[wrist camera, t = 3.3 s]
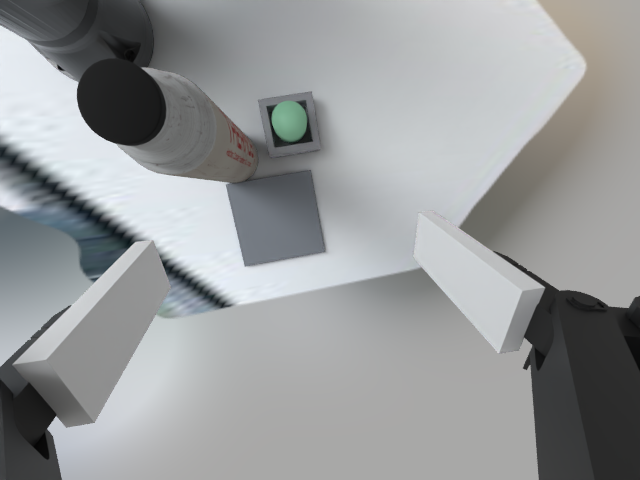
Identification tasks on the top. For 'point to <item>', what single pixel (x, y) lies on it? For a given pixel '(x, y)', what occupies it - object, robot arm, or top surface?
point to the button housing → (307, 101)
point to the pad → (276, 217)
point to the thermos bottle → (164, 122)
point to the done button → (289, 121)
